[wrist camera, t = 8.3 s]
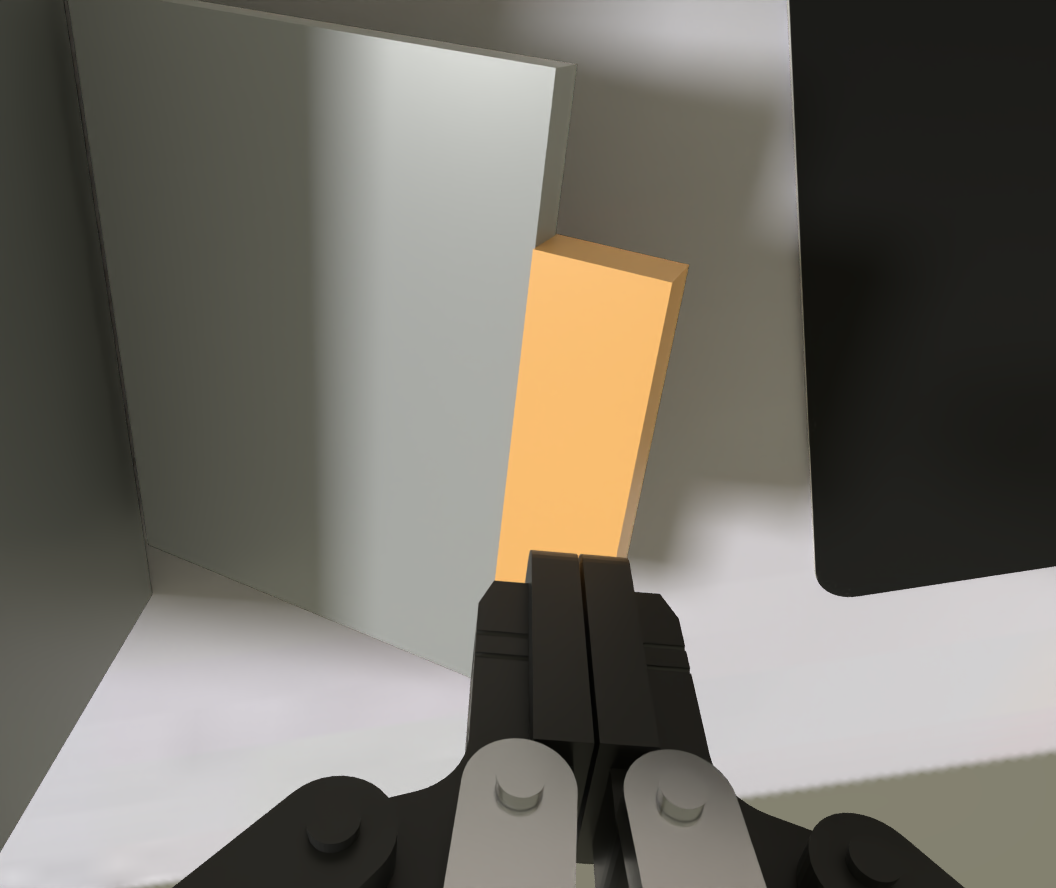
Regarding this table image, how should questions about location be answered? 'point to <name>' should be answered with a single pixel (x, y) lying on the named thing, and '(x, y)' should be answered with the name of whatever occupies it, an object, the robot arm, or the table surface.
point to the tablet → (927, 286)
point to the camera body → (55, 418)
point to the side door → (363, 312)
